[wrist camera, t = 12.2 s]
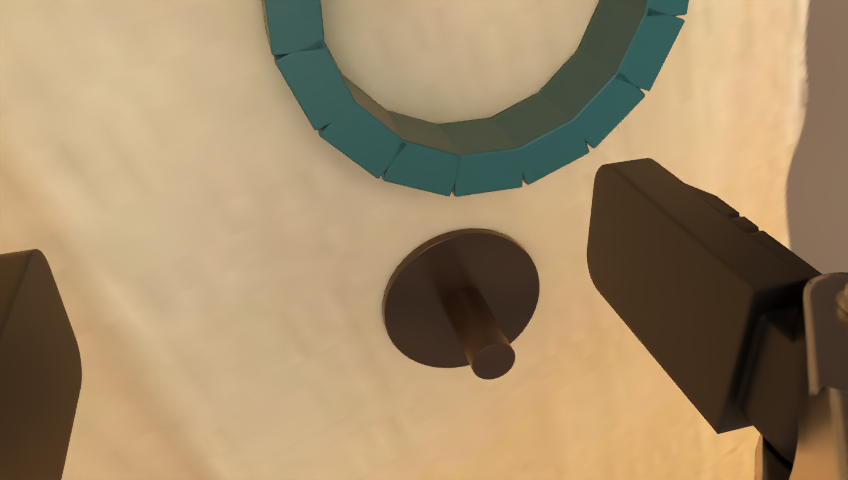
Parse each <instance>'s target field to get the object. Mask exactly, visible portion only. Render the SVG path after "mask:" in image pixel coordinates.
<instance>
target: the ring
mask: <svg viewBox="0 0 848 480" xmlns="http://www.w3.org/2000/svg"><path fill="white" fill-rule="evenodd" d="M688 2H689V0H600V1H599V4H598V6H597V8H596V10H595V12H594V15H593V17H592V19H591V21H590V24H589V26H588V28H587V30H586V32H585V35H584V37H583V39H582V41H581V44H580V46H579V48H578V50H577V51H576V53H575V54H574V55H573V56H572V57H571V58H570V59H569V60H568V61H567V62H566V63H565V64H564V66H563V67H562V68H561V69H560V70H559V71H558V72H557V73H556V74H555V75H554V76H553V77H552V79H551V80H550V81H549V82H548V83H547V84H546V85H545V86H544V87H543V88H542V89H541V91H540V92H538V93H537V94H535V95H533V96H531V97H529V98H527V99H525V100H523V101H521V102H520V103H518V104H516V105H514V106H512V107H510V108H508V109H506V110H504V111H503V112H501V113H499V114H497V115H495V116H493V117H491V118H486V119H478V120H470V121H462V122H454V123H445V124H434V123H430V122H427V121H423V120H420V119H416V118H413V117H409V116H405V115H402V114H398V113H395V112H391V111H388V110H385V109H384V108H383V107H382V106H381V105H379V104H378V103H377V102H376V101H374V100H373V99H372V98H371V97H369V96H368V95H367V94H366V93H364V92H363V91H362V90H361V89H360V88H358V87H357V86H356V85H355V84H353V83H352V82H351V81H350V80H348V79H347V78H346V77H345V76H344V75H342V74H341V72H340V70H339V68H338V66H337V64H336V62H335V60H334V59H333V57H332V55H331V53H330V51H329V49H328V47H327V45H326V44H325V42H324V32H323V22H322V12H321V2H320V0H262V7H263V14H264V21H265V28H266V33H267V37H268V41H269V44H270V48H271V52H272V55H273V56H274V60H275V63H276V65H277V67H278V69H279V70H280V72H281V74H282V75H283V77H284V79H285V81H286V82H287V84H288V86H289V87H290V89H291V91H292V92H293V94H294V96H295V98H296V99H297V101H298V103H299V104H300V106H301V108H302V110H303V111H304V113H305V115H306V116H307V118H308V120H309V121H310V123H311V125H312V127H313V128H314V130H318V132H319V135H320V137H322V138H323V139H324V140H326V141H327V142H329V143H330V144H331V145H333V146H334V147H335V148H337V149H338V150H339V151H341V152H342V153H343V154H345V155H346V156H348V157H349V158H350V159H352V160H353V161H354V162H356V163H357V164H358V165H360V166H361V167H362V168H364V169H365V170H367V171H368V172H369V173H371V174H372V175H373V176H375V177H376V178H379V177H380V176H381V177H382V179H383V180H384V181H386V182H391V183H395V184H399V185H403V186H407V187H412V188H416V189H420V190H424V191H428V192H432V193H437V194H441V195H445V196H450V194H451V192H452V193H453V194H454V196H464V195H471V194H478V193H485V192H492V191H499V190H505V189H512V188H519V187H522V180H523V181H524V182H525V183H526V184H527V185H529V184H531V183H533V182H535V181H537V180H538V179H540V178H542V177H544V176H546V175H548V174H550V173H552V172H554V171H555V170H557V169H559V168H561V167H563V166H565V165H567V164H569V163H571V162H572V161H574V160H576V159H578V158H580V157H582V156H584V155H586V154H588V153H589V149H588V146H587V144H588V145H589V146H591V147H592V148H596V147H597V146H598V145H599V143H600V142H601V141H602V140H603V139H604V138H605V137H606V136H607V135H608V134H609V133H610V132H611V131H612V130H613V129H614V128H615V127H616V126H617V125H618V124H619V123H620V122H621V121H622V120H623V119H624V118H625V117H626V116H627V115H628V113H629V112H630V111H631V110H632V109H633V108H634V107H635V106H636V105H637V104H638V103H639V102H640V101H641V100H642V99H643V98H644V97H645V94H644V93H643V92H642V91H641V90H640V89H639V88H641V89H644V90H647V91H650V89H651V87H652V85H653V83H654V81H655V79H656V77H657V75H658V73H659V71H660V69H661V67H662V65H663V63H664V61H665V59H666V57H667V55H668V53H669V51H670V49H671V47H672V45H673V44H674V42H675V40H676V38H677V36H678V34H679V32H680V30H681V28H682V26H683V24H684V22H685V21H684V20H683V19H681V18H678V17H676V16H678V15H685V14H686V13H687V8H688Z"/></svg>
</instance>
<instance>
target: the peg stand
mask: <svg viewBox="0 0 848 480" xmlns="http://www.w3.org/2000/svg"><path fill="white" fill-rule="evenodd" d="M538 297H539V277H538V273H537V270H536V267H535V265H534V263H533V261H532V259H531V257H530V256H529V255H528V253H527V252H526V251H525V250H524V248H523V247H522V246H520V245H519V244H518V243H517V242H516V241H514V240H513V239H511V238H510V237H508V236H506V235H503V234H501V233H498V232H494V231H490V230H484V229H465V230H458V231H453V232H449V233H446V234H443V235H440V236H438V237H436V238H434V239H431V240H429V241H428V242H426V243H424V244H423V245H421V246H420V247H418V248H417V249H416V250H414V251H413V252H412V253H411V254H410V255H409V256H408V257H406V258H405V259H404V260H403V262H402V263H401V264H400V265H399V266H398V268H397V269H396V271H395V272H394V274H393V275H392V277H391V279H390V281H389V283H388V285H387V288H386V291H385V294H384V300H383V318H384V323H385V326H386V329H387V332H388V335H389V337H390V339H391V340H392V342H393V343H394V345H395V346H396V347H397V349H399V350H400V351H401V352H402V353H403V354H404V355H406V356H407V357H408V358H410V359H412V360H414V361H416V362H418V363H421V364H424V365H427V366H432V367H439V368H455V367H462V366H467V365H471V368H472V370H473V372H474V373H475V374H476V375H477V376H478V377H480V378H482V379H495V378H498V377H501V376H503V375H504V374H506V373H507V372H508V371H509V370H510V369H511V367H512V366H513V364H514V361H515V353H514V350H513V349H512V347H511V345H510V343H512V342H513V341H514V340H515V339H516V338H517V337H518V336H519V335H520V334H521V332H522V331H523V330H524V329H525V327H526V326H527V324H528V323H529V321H530V319H531V318H532V316H533V313H534V311H535V309H536V305H537V302H538Z"/></svg>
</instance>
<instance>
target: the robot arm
mask: <svg viewBox="0 0 848 480" xmlns="http://www.w3.org/2000/svg"><path fill="white" fill-rule="evenodd" d="M587 263H588V269H589V273H590V276H591V279H592V281H593V283H594V285H595V287H596V289H597V290H598V291H599V292H600V294H601V295H602V296H603V297H604V298H605V300H606V301H607V302H608V303H609V304H610V306H611V307H612V308H613V309H614V310H615V312H616V313H617V314H618V315H619V316H620V318H621V319H622V320H623V321H624V322H625V324H626V325H627V326H628V327H629V328H630V330H631V331H632V332H633V333H634V334H635V335H636V337H637V338H638V339H639V340H640V341H641V343H642V344H643V345H644V346H645V347H646V349H647V350H648V351H649V352H650V353H651V355H652V356H653V357H654V358H655V359H656V361H657V362H658V363H659V364H660V365H661V367H662V368H663V369H664V370H665V371H666V373H667V374H668V375H669V376H670V377H671V379H672V380H673V381H674V382H675V383H676V385H677V386H678V387H679V388H680V389H681V391H682V392H683V393H684V394H685V395H686V396H687V398H688V399H689V400H690V401H691V402H692V404H693V405H694V406H695V407H696V408H697V410H698V411H699V412H700V413H701V414H702V416H703V417H704V418H705V419H706V420H707V422H708V423H709V424H710V425H711V426H712V428H713V429H714V430H715V431H716V432H717V434H720V433H724V432H728V431H732V430H736V429H740V428H744V427H748V426H752V425H753V426H754V427H755V428H756V429H757V430H758V431H759V432H760V436H759V439H758V443H757V446H756V450H755V477H754V480H848V273H845V272H839V273H828V274H821V273H820V272H819V271H817V270H816V269H815V268H813V267H812V266H810V265H809V264H808V263H806V262H805V261H804V260H802V259H801V258H800V257H798V256H797V255H795V254H794V253H793V252H791V251H790V250H789V249H787V248H786V247H785V246H783V245H782V244H781V243H779V242H778V241H777V240H775V239H774V238H773V237H771V236H770V235H768V234H767V233H766V232H764V231H759V230H758V226H756V225H755V224H754V223H752V222H751V221H749V220H748V219H747V218H745V217H744V216H743V217H740V216H739V212H737V211H736V210H735V209H733V208H732V207H730V206H729V205H728V204H726V203H725V202H724V201H722V200H721V199H720V198H718V197H717V196H715V195H712V194H710V193H708V192H705V191H703V190H700V189H698V188H695V187H693V186H690V185H688V184H685V183H683V182H682V181H681V180H679V179H678V178H677V177H676V176H674V175H673V174H672V173H670V172H669V171H668V170H666V169H665V168H664V167H662V166H661V165H660V164H658V163H657V162H656V161H654V160H653V159H650V158H644V159H638V160H631V161H624V162H618V163H611V164H605V165H602V166H601V167H600V168H599V169H598V171H597V173H596V176H595V180H594V188H593V198H592V207H591V217H590V226H589V236H588V245H587ZM81 381H82V367H81V358H80V353H79V348H78V344H77V341H76V338H75V335H74V332H73V330H72V327H71V324H70V321H69V319H68V316H67V313H66V310H65V308H64V305H63V302H62V299H61V297H60V294H59V291H58V288H57V286H56V283H55V280H54V277H53V275H52V272H51V269H50V266H49V264H48V262H47V260H46V258H45V256H44V255H43V253H42V252H41V251H40V250H38V249H33V250H26V251H20V252H13V253H6V254H0V480H61V479H62V474H63V469H64V465H65V460H66V455H67V450H68V446H69V441H70V436H71V431H72V427H73V422H74V417H75V412H76V408H77V403H78V398H79V394H80V389H81Z"/></svg>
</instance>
